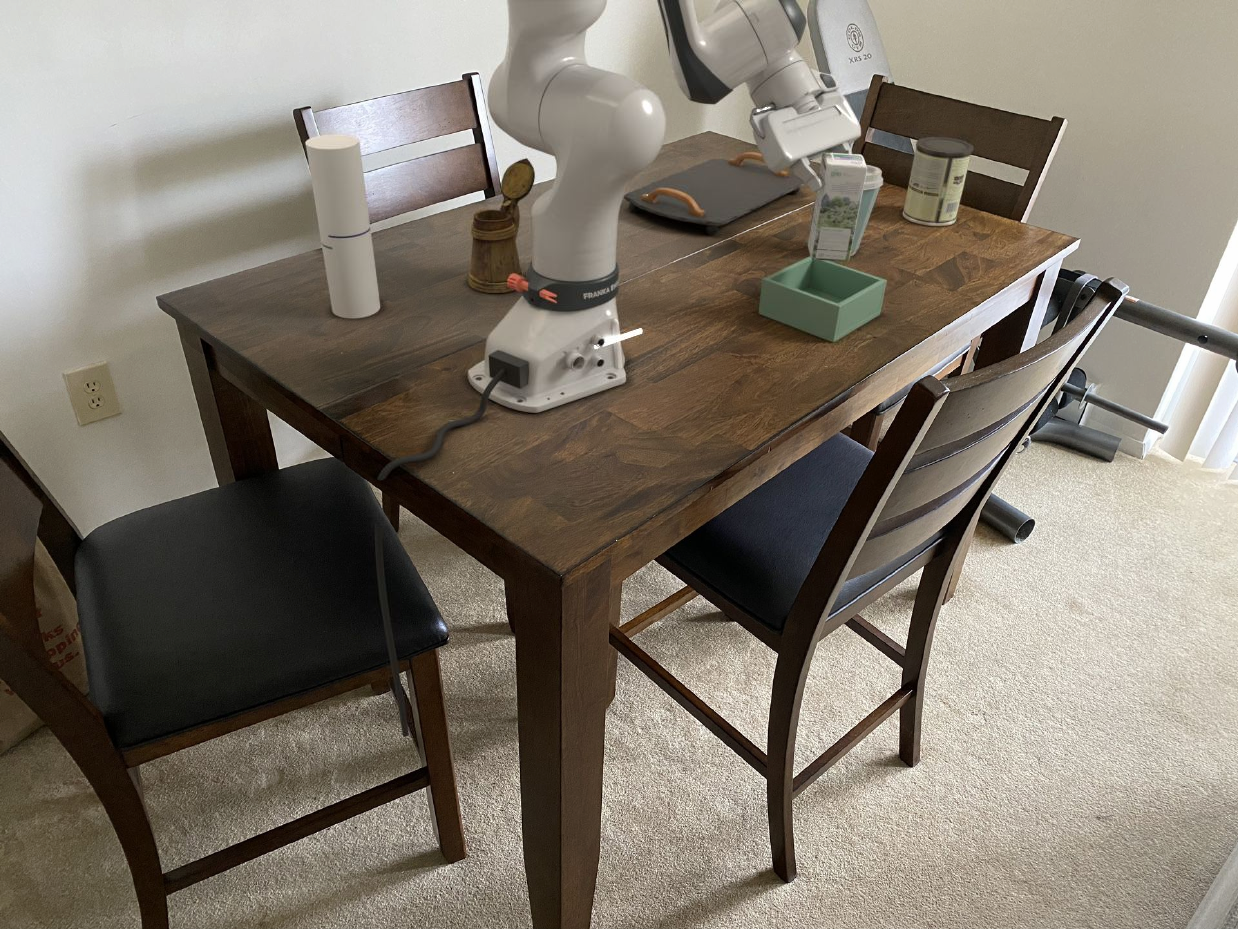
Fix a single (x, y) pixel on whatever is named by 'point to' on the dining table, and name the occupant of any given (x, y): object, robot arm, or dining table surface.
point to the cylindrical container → (344, 224)
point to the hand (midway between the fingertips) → (835, 182)
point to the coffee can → (937, 181)
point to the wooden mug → (500, 233)
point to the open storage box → (822, 298)
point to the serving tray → (714, 191)
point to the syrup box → (837, 206)
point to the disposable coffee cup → (866, 203)
